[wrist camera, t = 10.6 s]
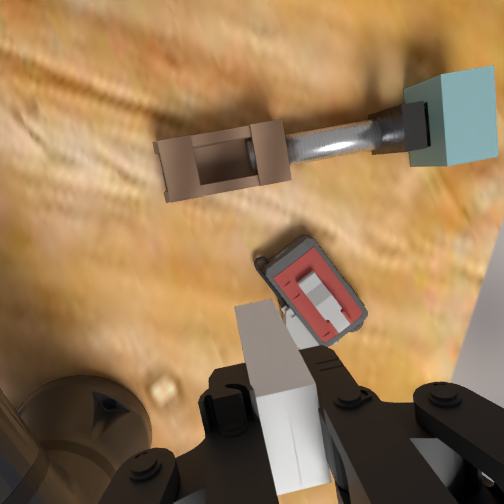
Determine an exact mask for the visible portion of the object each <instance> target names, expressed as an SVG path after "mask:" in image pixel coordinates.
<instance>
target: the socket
mask: <svg viewBox="0 0 504 504" xmlns="http://www.w3.org/2000/svg"><path fill="white" fill-rule="evenodd" d="M403 92H404V103H405V104H407V103H413V102H419V101H424V110H427V109H428V114H429V126H430V138H431V140H427V147H428V148H424V149H419V150H414V151H409V157H410V167H425V166H451V165H456V164H462V163H467V162H472V161H478V160H483V159H488V158H494V157H498V137H497V116H496V95H495V74H494V65H492V66H486V67H481V68H475V69H469V70H463V71H457V72H451V73H446V74H440V75H438V76H435V77H433V78H430V79H428V80H425V81H423V82H420V83H418V84H415V85H413V86H411V87H408V88H406V89H403Z"/></svg>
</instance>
